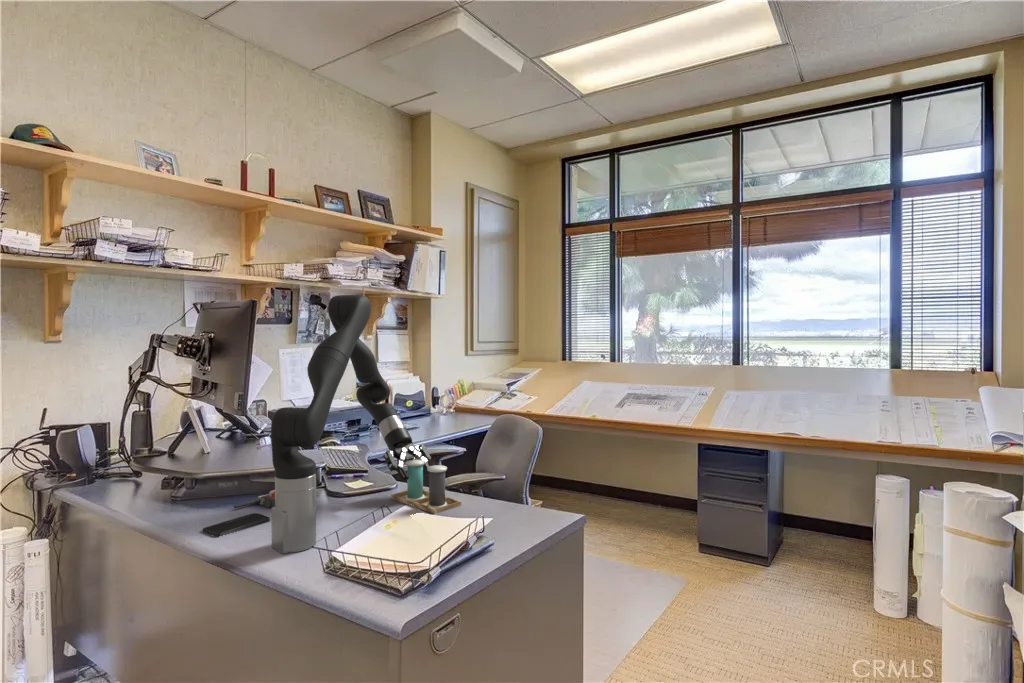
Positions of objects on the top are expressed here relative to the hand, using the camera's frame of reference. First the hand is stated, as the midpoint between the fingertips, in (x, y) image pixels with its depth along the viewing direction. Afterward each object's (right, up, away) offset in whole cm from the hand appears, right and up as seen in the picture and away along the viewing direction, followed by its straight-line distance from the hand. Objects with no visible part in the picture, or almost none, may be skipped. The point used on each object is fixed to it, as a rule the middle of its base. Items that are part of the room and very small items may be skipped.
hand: (418, 477), depth 168 cm
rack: (+3, -8, -2) cm, 9 cm away
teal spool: (-1, -7, +1) cm, 7 cm away
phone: (-45, -9, -19) cm, 49 cm away
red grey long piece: (-43, -8, 0) cm, 44 cm away
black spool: (+6, -7, -6) cm, 11 cm away
